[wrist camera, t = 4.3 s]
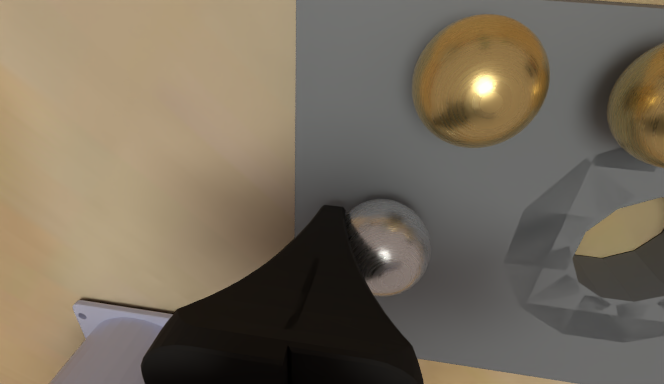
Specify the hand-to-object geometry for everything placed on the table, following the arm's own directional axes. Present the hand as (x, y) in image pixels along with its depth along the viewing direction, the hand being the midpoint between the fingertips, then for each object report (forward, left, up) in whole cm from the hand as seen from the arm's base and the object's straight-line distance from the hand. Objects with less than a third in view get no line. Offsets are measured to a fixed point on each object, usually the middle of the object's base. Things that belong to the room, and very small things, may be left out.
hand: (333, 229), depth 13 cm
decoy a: (+5, -3, +1) cm, 6 cm away
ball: (0, -2, 0) cm, 2 cm away
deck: (0, -7, -4) cm, 8 cm away
